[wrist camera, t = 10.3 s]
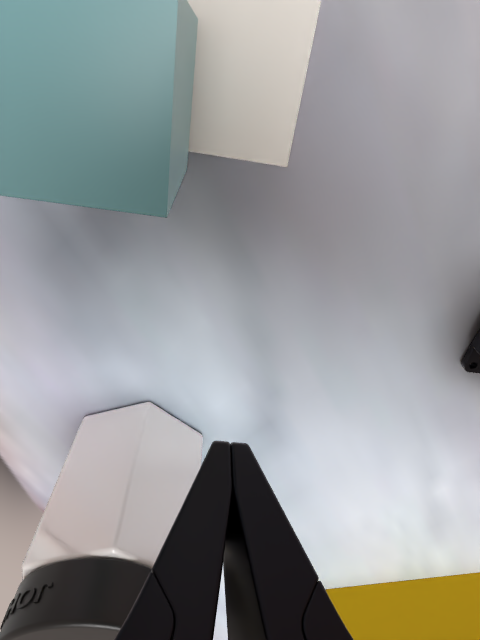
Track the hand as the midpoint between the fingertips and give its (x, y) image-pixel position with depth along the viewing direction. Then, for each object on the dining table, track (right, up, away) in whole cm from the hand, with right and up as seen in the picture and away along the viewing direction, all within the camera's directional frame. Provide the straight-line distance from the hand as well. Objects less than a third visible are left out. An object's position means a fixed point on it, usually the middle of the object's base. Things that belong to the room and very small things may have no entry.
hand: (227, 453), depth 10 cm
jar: (-7, -5, +18) cm, 20 cm away
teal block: (-4, +12, +6) cm, 14 cm away
